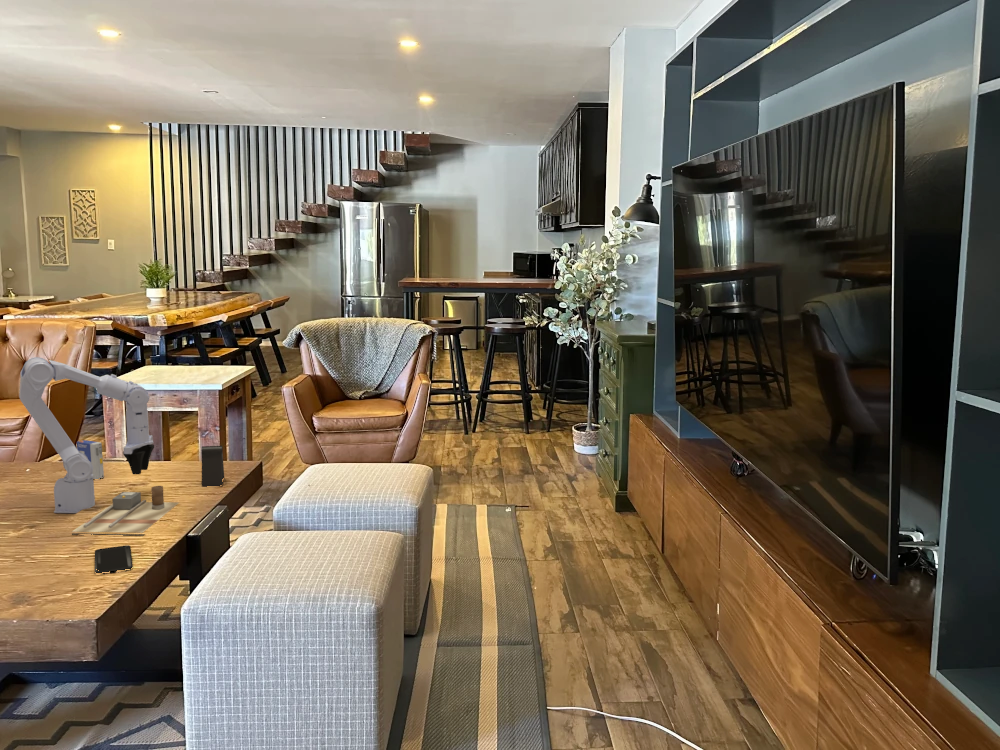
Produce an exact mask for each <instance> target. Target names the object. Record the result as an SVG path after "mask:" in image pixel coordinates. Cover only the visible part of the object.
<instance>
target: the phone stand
mask: <svg viewBox="0 0 1000 750" xmlns="http://www.w3.org/2000/svg"><path fill="white" fill-rule="evenodd" d="M223 449H224V448H223V445H207V446H205V445H204V446H201V450H200V451H201V488H208V487H207V486H220V485H222V484H224V482H222V479H223V478H224V479H225V467H224V465H225V464H224V456H223V455H224V453H223V451H224V450H223Z"/></svg>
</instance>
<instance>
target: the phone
mask: <svg viewBox="0 0 1000 750" xmlns="http://www.w3.org/2000/svg"><path fill="white" fill-rule="evenodd" d="M94 554H95V560H94V573H95V572H96V573H102V572H109V571H114V572H115V571H117V570H125V569H131V568H132V567H133V568H134V564H133V555H132V547H131V545H128V544H125V545H118V546H112V547H105V548H97V549H95V550H94ZM96 569H97V570H96ZM98 570H99V571H98Z"/></svg>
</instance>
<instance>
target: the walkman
mask: <svg viewBox="0 0 1000 750" xmlns="http://www.w3.org/2000/svg"><path fill="white" fill-rule="evenodd" d="M102 444H103V443H102V442H99V441H93V440H85V439H84V440H83V439H82V440H78V441H76V448H77V450H78V451H80V452H82V453H84V454H85V455H86V456H87V458H88V460H89V461H90V462H91V463H92V465H93V472H92V474H93V479H99V478H103V477H104V478H105V471H104V459H103V457H104V456H103V446H102ZM104 478H103V479H104ZM99 480H100V479H99Z"/></svg>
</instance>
